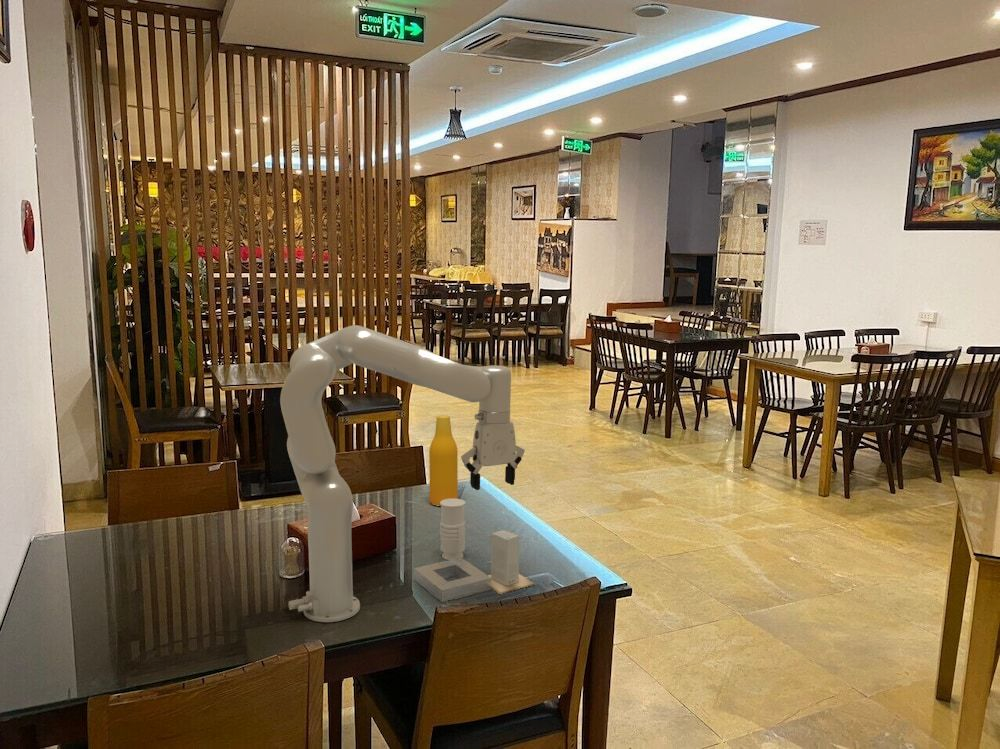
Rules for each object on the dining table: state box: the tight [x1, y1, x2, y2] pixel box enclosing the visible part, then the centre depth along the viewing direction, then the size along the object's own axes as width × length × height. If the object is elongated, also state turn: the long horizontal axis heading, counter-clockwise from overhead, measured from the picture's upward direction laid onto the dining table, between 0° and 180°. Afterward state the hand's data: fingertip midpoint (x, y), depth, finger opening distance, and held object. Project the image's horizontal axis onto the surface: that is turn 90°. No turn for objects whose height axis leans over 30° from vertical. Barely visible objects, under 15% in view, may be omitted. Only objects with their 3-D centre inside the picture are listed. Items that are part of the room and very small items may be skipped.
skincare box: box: [490, 529, 520, 586], centre depth 188 cm, size 6×4×12 cm
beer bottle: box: [428, 414, 459, 506], centre depth 248 cm, size 9×9×29 cm
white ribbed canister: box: [439, 498, 466, 561], centre depth 205 cm, size 7×7×15 cm
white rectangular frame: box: [413, 557, 492, 603], centre depth 188 cm, size 14×15×3 cm
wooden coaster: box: [488, 573, 535, 595], centre depth 189 cm, size 10×10×1 cm
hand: (492, 486), depth 186 cm, fingers open, 9 cm apart
